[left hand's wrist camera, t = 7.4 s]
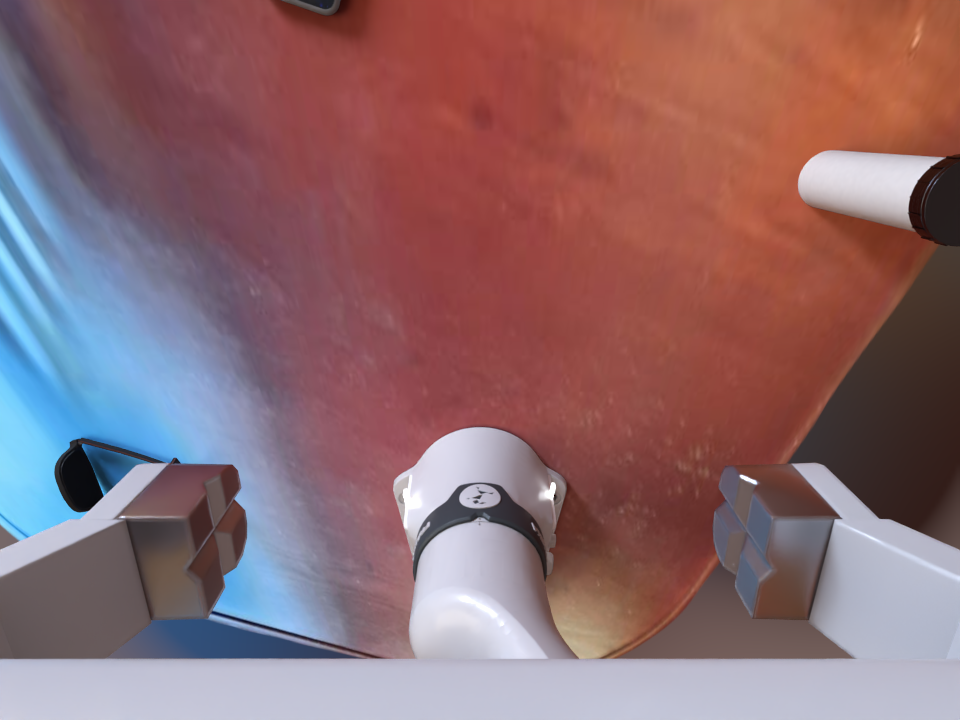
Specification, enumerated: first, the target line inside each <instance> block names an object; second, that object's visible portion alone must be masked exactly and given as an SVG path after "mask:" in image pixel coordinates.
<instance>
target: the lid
mask: <svg viewBox="0 0 960 720" xmlns="http://www.w3.org/2000/svg"><path fill="white" fill-rule="evenodd" d="M917 181H918V182H917V183H916V185H915V187H914V189H913V191H912V193H911V196H910V197H909V198H910V200H909V207H908V214H909V219H910V222H911V225H912V228H914V230H915V231H916V232H917V233H918V234H919V235H920V236H922V237H921V238H923V239H927V240H930V241H934V243H936V244H940V245H944V246H947V245H950V246H960V154H957V155H953V156H946V158H945V159H942V160H941V161H939V162H937V163H936V164H934V165H933V166H930V168H929V169H928V170H927V171H926V172H925V173H924V174H923V175H922V176H921V178H920V179H919V180H917Z"/></svg>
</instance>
